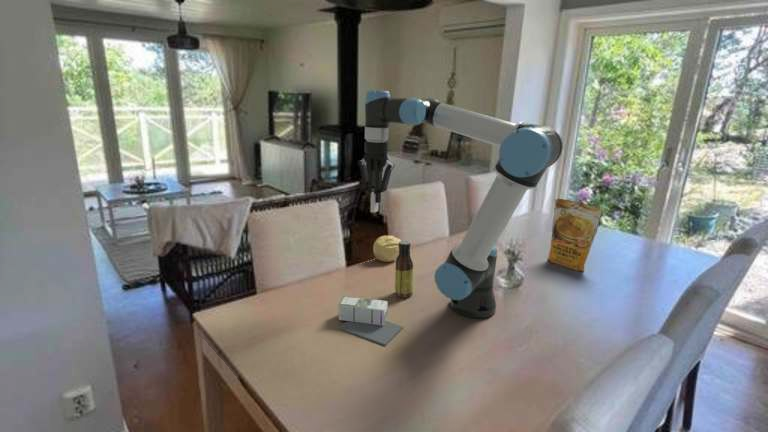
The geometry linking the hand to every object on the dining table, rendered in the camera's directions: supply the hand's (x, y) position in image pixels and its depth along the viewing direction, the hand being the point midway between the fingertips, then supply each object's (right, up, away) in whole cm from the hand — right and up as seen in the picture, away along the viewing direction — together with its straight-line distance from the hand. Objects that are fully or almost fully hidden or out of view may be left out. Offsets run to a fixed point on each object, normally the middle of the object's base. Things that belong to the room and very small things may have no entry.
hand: (374, 211), depth 137 cm
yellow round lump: (+4, -20, +39) cm, 44 cm away
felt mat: (-1, -36, -14) cm, 38 cm away
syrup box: (-11, -30, -9) cm, 33 cm away
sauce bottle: (+10, -30, +8) cm, 33 cm away
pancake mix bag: (+83, -23, +40) cm, 95 cm away
